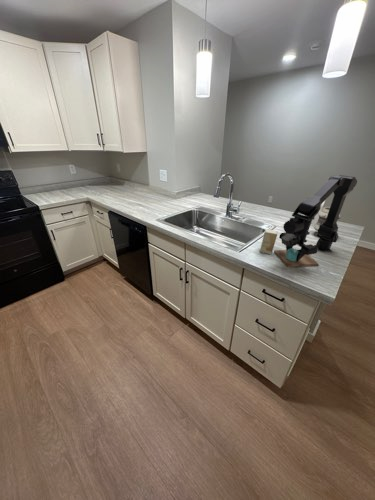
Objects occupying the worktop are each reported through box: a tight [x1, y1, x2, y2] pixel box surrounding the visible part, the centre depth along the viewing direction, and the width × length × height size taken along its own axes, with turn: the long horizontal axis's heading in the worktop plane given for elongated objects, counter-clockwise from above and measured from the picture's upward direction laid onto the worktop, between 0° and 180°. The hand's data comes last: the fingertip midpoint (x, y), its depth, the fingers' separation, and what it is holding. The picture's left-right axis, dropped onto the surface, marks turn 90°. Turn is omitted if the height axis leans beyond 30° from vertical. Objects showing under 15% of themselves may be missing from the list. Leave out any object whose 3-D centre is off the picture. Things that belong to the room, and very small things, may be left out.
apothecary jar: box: [312, 206, 342, 239], centre depth 124 cm, size 12×12×18 cm
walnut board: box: [273, 249, 320, 268], centre depth 103 cm, size 16×14×1 cm
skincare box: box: [259, 228, 279, 255], centre depth 106 cm, size 6×4×12 cm
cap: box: [286, 247, 299, 261], centre depth 99 cm, size 6×6×4 cm
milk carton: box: [311, 200, 326, 226], centre depth 144 cm, size 7×7×19 cm
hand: (292, 257), depth 100 cm, fingers closed on cap, 6 cm apart
